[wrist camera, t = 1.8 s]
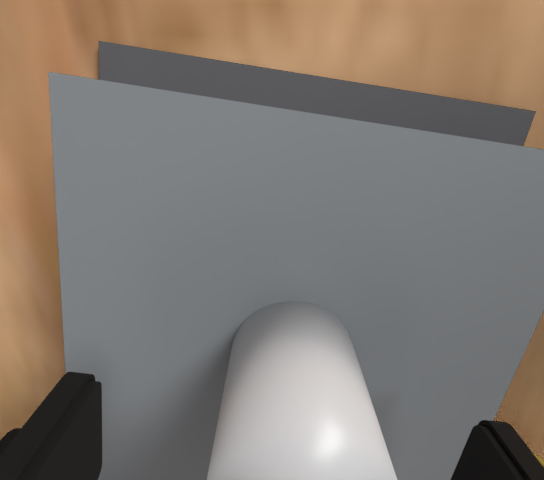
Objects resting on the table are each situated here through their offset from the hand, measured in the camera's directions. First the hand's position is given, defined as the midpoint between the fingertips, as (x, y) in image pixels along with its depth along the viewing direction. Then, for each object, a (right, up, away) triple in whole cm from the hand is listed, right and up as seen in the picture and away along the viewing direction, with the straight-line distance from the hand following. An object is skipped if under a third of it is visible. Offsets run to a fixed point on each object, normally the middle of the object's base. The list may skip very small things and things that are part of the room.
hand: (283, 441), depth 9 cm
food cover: (0, +3, +8) cm, 9 cm away
